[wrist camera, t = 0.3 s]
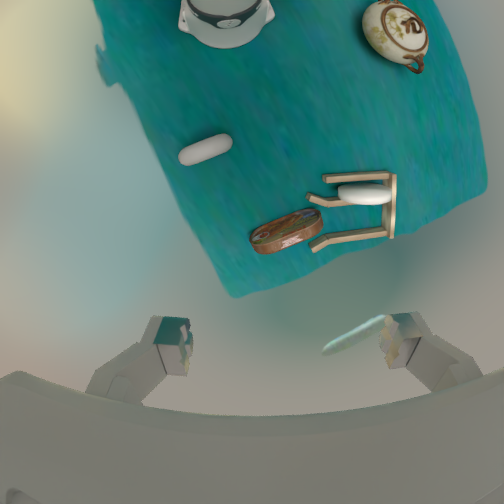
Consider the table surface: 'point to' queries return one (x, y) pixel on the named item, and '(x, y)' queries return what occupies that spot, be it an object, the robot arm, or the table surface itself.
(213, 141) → the donut
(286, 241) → the tin
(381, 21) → the sugar bowl
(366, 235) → the rack
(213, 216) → the table surface
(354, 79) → the table surface
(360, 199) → the racked plate
